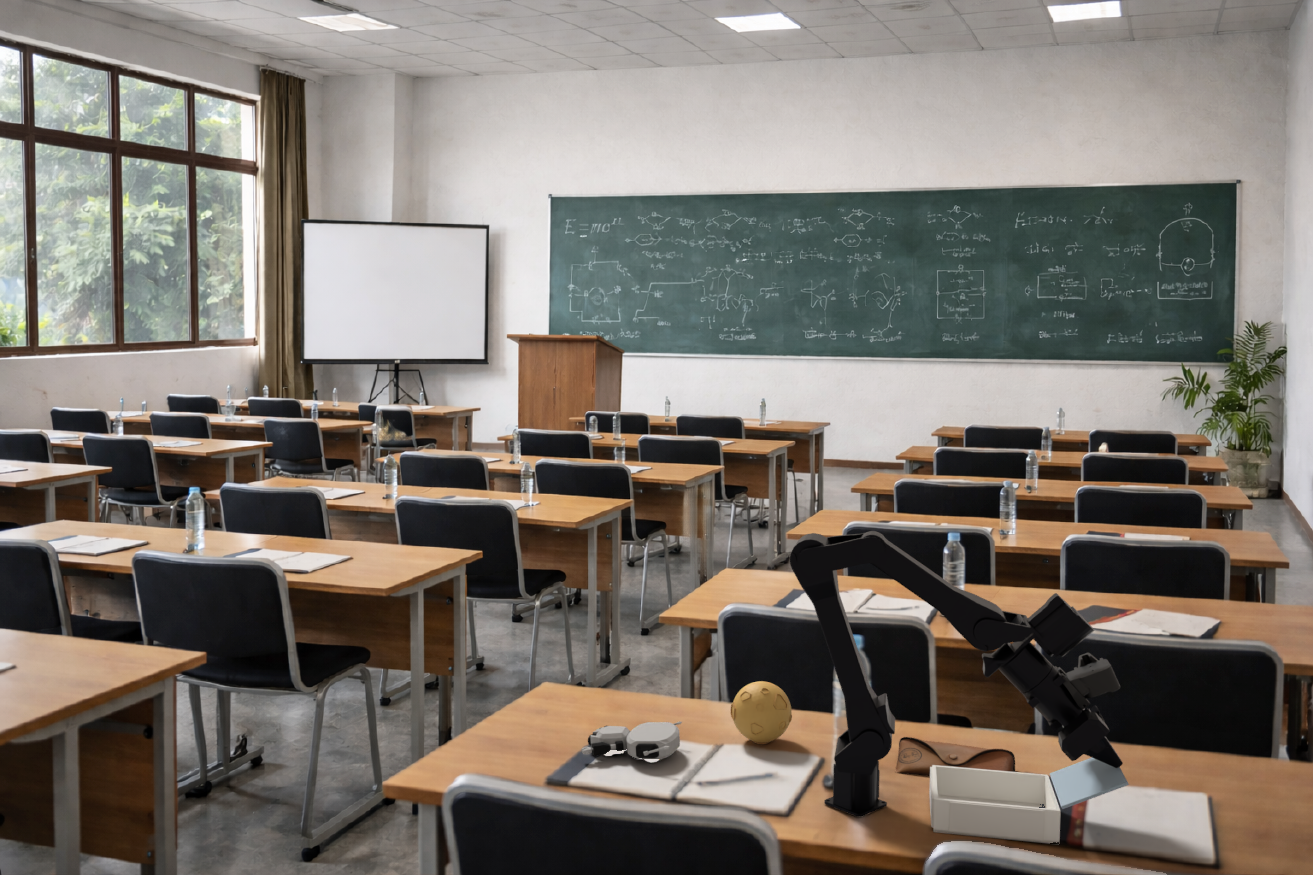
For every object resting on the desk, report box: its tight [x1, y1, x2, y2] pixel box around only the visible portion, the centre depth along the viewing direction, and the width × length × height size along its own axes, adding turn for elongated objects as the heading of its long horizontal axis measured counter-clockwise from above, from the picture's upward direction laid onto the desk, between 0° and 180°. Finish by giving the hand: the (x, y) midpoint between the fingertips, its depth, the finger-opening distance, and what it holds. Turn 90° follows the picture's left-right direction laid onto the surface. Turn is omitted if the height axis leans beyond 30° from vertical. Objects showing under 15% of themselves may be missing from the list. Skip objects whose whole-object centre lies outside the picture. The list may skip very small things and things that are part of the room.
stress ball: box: [730, 680, 793, 745], centre depth 182 cm, size 10×10×10 cm
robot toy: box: [581, 721, 683, 760], centre depth 176 cm, size 12×4×15 cm
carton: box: [928, 765, 1061, 844], centre depth 152 cm, size 16×14×4 cm
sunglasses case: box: [894, 736, 1016, 777], centre depth 170 cm, size 18×7×7 cm, turn 71°
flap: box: [1048, 757, 1130, 810], centre depth 149 cm, size 1×12×9 cm
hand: (1119, 765), depth 148 cm, fingers closed, pressing on flap
